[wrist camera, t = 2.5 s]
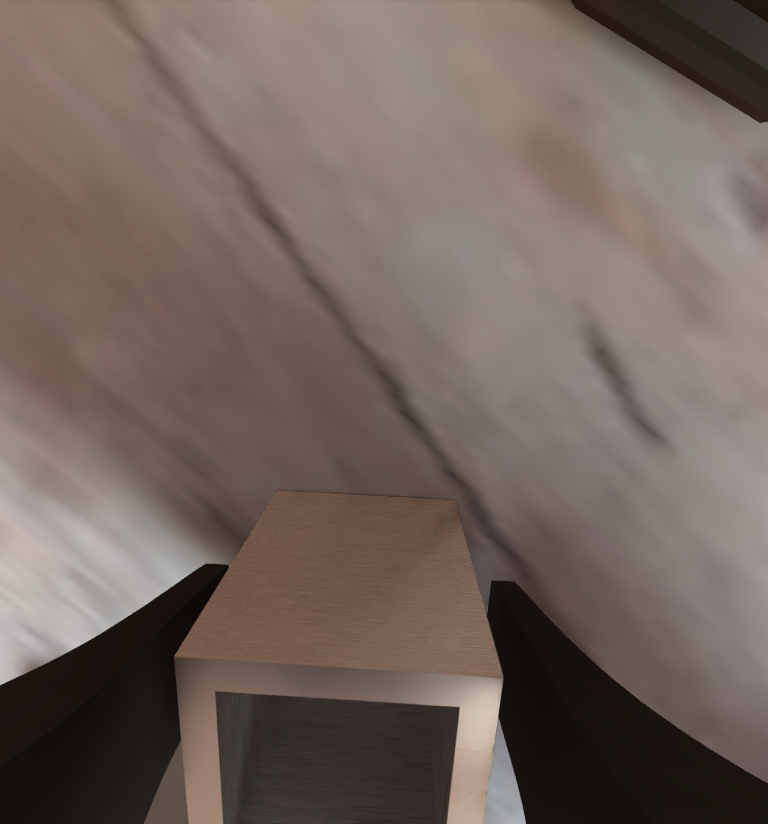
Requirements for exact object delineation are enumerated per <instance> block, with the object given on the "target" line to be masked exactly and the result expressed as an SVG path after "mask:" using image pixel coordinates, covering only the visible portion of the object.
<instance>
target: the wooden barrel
mask: <svg viewBox="0 0 768 824" xmlns="http://www.w3.org/2000/svg"><path fill="white" fill-rule="evenodd" d="M573 3H574V6H575V8H576V9H578V10H579V11H581V12H582V13H584V14H586V15H587V16H589V17H590V18H592V19H594V20H595V21H597V22H599V23H600V24H602V25H603V26H605V27H607V28H608V29H610V30H611V31H613V32H615V33H616V34H618V35H619V36H621V37H623V38H624V39H626V40H627V41H629V42H631V43H632V44H634V45H636V46H637V47H639V48H640V49H642V50H644V51H645V52H647V53H648V54H650V55H652V56H653V57H655V58H656V59H658V60H660V61H661V62H663V63H664V64H666V65H668V66H669V67H671V68H673V69H674V70H676V71H677V72H679V73H681V74H682V75H684V76H685V77H687V78H689V79H690V80H692V81H693V82H695V83H697V84H698V85H700V86H701V87H703V88H705V89H706V90H708V91H710V92H711V93H713V94H714V95H716V96H718V97H719V98H721V99H722V100H724V101H726V102H727V103H729V104H730V105H732V106H734V107H735V108H737V109H739V110H740V111H742V112H743V113H745V114H747V115H748V116H750V117H751V118H753V119H755V120H756V121H758V122H759V123H762V122H768V0H573Z"/></svg>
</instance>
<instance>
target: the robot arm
mask: <svg viewBox="0 0 768 824" xmlns="http://www.w3.org/2000/svg"><path fill="white" fill-rule="evenodd" d="M228 569H229V565H222V564H205V565H203V566H201V567H200V568H198V569H197V570H195V571H194V572H192V573H191V574H190V575H188V576H187V577H185V578H184V579H182V580H181V581H180V582H178V583H177V584H175V585H174V586H173V587H171V588H170V589H168V590H167V591H165V592H164V593H163V594H161V595H160V596H158V597H157V598H155V599H154V600H152V601H151V602H149V603H148V604H147V605H145V606H144V607H142V608H141V609H139V610H138V611H136V612H134V613H133V614H131V615H130V616H128V617H127V618H125V619H123V620H122V621H120V622H119V623H117V624H116V625H114V626H112V627H111V628H109V629H108V630H106V631H104V632H103V633H101V634H100V635H98V636H96V637H94V638H93V639H91V640H89V641H88V642H86V643H84V644H82V645H80V646H79V647H77V648H75V649H73V650H71V651H69V652H68V653H66V654H64V655H62V656H60V657H58V658H56V659H54V660H52V661H50V662H49V663H47V664H45V665H42V666H40V667H38V668H36V669H34V670H32V671H30V672H28V673H25V674H23V675H21V676H19V677H17V678H15V679H13V680H11V681H8V682H6V683H4V684H2V685H0V824H144V822H145V819H146V817H147V815H148V812H149V810H150V807H151V805H152V802H153V800H154V797H155V795H156V793H157V790H158V788H159V785H160V783H161V780H162V778H163V776H164V774H165V772H166V770H167V768H168V765H169V763H170V761H171V759H172V757H173V755H174V753H175V751H176V749H177V747H178V745H179V743H180V741H181V731H180V720H179V709H178V697H177V686H176V675H175V664H174V656H175V654H176V653H177V651H178V649H179V648H180V646H181V645H182V643H183V641H184V640H185V638H186V637H187V635H188V633H189V632H190V630H191V629H192V627H193V625H194V624H195V622H196V620H197V619H198V617H199V616H200V614H201V612H202V611H203V609H204V608H205V606H206V604H207V603H208V601H209V600H210V598H211V596H212V595H213V593H214V591H215V590H216V588H217V587H218V585H219V583H220V582H221V580H222V579H223V577H224V575H225V574H226V572H227V571H228ZM487 619H488V623H489V626H490V630H491V634H492V637H493V641H494V645H495V648H496V652H497V655H498V659H499V663H500V666H501V670H502V674H503V677H504V679H503V686H502V693H501V700H500V707H499V714H498V716H499V720H500V724H501V727H502V731H503V734H504V738H505V741H506V745H507V748H508V752H509V755H510V759H511V762H512V766H513V770H514V773H515V777H516V780H517V784H518V788H519V792H520V797H521V801H522V805H523V810H524V815H525V820H526V824H768V783H766V782H764V781H762V780H761V779H759V778H757V777H755V776H753V775H752V774H750V773H748V772H747V771H745V770H743V769H742V768H740V767H738V766H737V765H735V764H733V763H732V762H730V761H728V760H727V759H725V758H724V757H722V756H720V755H719V754H717V753H715V752H714V751H712V750H710V749H709V748H707V747H706V746H704V745H703V744H701V743H700V742H698V741H697V740H695V739H693V738H692V737H690V736H689V735H687V734H686V733H684V732H683V731H682V730H680V729H679V728H677V727H676V726H674V725H673V724H672V723H670V722H669V721H667V720H666V719H664V718H663V717H662V716H660V715H659V714H657V713H656V712H654V711H653V710H652V709H650V708H649V707H648V706H646V705H645V704H644V703H642V702H641V701H640V700H638V699H637V698H636V697H635V696H633V695H632V694H631V693H630V692H628V691H627V690H626V689H625V688H623V687H622V686H621V685H620V684H618V683H617V682H616V681H615V680H613V679H612V678H611V677H610V676H609V675H608V674H606V673H605V672H604V671H603V670H602V669H601V668H599V667H598V666H597V665H596V664H595V663H594V662H593V661H592V660H591V659H590V658H589V657H587V656H586V655H585V654H584V653H583V652H582V651H581V650H580V649H579V648H578V647H577V646H576V645H575V644H574V643H573V642H572V641H570V640H569V639H568V638H567V637H566V636H565V635H564V634H563V633H562V632H561V631H560V630H559V629H558V627H557V626H556V625H555V624H554V623H553V622H552V621H551V620H550V619H549V618H548V617H547V616H546V615H545V614H544V613H543V612H542V611H541V610H540V608H539V607H538V606H537V605H536V604H535V603H534V602H533V601H532V600H531V599H530V598H529V597H528V595H527V594H526V593H525V592H524V591H523V590H522V589H521V588H520V587H519V586H518V585H517V584H516V582H511V581H494V580H492V581H491V589H490V597H489V605H488V613H487Z"/></svg>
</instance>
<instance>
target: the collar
mask: <svg viewBox="0 0 768 824" xmlns="http://www.w3.org/2000/svg"><path fill="white" fill-rule="evenodd" d="M174 664H175V675H176V686H177V697H178V709H179V720H180V731H181V743H182V754H183V765H184V776H185V788H186V799H187V810H188V821H189V824H483V821H484V814H485V807H486V800H487V793H488V786H489V778H490V771H491V764H492V757H493V750H494V743H495V736H496V729H497V721H498V714H499V707H500V700H501V693H502V686H503V679H504V677H503V674H502V670H501V666H500V663H499V659H498V655H497V652H496V648H495V645H494V641H493V637H492V634H491V630H490V626H489V623H488V619H487V616H486V612H485V608H484V605H483V601H482V597H481V594H480V590H479V587H478V583H477V579H476V576H475V572H474V568H473V565H472V561H471V558H470V554H469V550H468V547H467V543H466V539H465V536H464V532H463V529H462V525H461V521H460V518H459V514H458V510H457V507H456V503H455V500H441V499H423V498H406V497H388V496H370V495H352V494H334V493H316V492H299V491H281V490H277V492H276V493H275V495H274V496H273V498H272V500H271V501H270V503H269V504H268V506H267V508H266V509H265V511H264V512H263V514H262V516H261V517H260V519H259V521H258V522H257V524H256V525H255V527H254V529H253V530H252V532H251V533H250V535H249V537H248V538H247V540H246V542H245V543H244V545H243V546H242V548H241V550H240V551H239V553H238V554H237V556H236V558H235V559H234V561H233V562H232V564H231V566H230V567H229V569H228V571H227V572H226V574H225V575H224V577H223V579H222V580H221V582H220V583H219V585H218V587H217V588H216V590H215V591H214V593H213V595H212V596H211V598H210V600H209V601H208V603H207V604H206V606H205V608H204V609H203V611H202V612H201V614H200V616H199V617H198V619H197V620H196V622H195V624H194V625H193V627H192V629H191V630H190V632H189V633H188V635H187V637H186V638H185V640H184V641H183V643H182V645H181V646H180V648H179V649H178V651H177V653H176V654H175V656H174Z"/></svg>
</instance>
